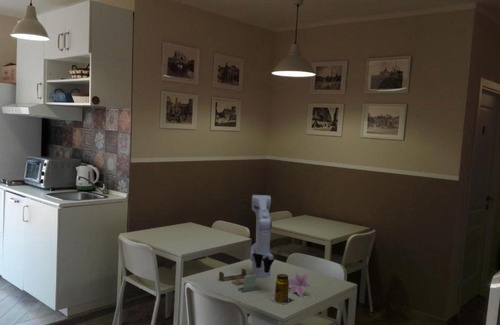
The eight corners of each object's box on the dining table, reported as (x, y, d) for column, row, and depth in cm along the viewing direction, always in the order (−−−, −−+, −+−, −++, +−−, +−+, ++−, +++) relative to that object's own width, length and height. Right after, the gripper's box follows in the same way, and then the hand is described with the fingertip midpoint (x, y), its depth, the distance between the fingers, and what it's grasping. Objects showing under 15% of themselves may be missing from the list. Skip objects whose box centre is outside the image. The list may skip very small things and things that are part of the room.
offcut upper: (241, 280, 229) (241, 278, 229) (246, 283, 226) (246, 281, 226) (231, 282, 226) (231, 280, 226) (237, 285, 222) (237, 283, 222)
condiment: (271, 300, 209) (272, 275, 208) (281, 295, 216) (283, 271, 215) (283, 304, 205) (285, 279, 204) (294, 300, 211) (295, 275, 210)
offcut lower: (242, 282, 230) (242, 280, 230) (247, 285, 225) (247, 283, 225) (230, 284, 226) (230, 282, 226) (235, 287, 222) (235, 285, 222)
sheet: (253, 290, 219) (254, 274, 219) (255, 291, 218) (255, 275, 218) (243, 292, 216) (243, 276, 216) (244, 293, 215) (245, 276, 214)
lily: (283, 291, 225) (281, 277, 220) (302, 279, 230) (300, 266, 224) (298, 306, 216) (296, 292, 211) (317, 294, 221) (316, 280, 215)
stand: (255, 288, 224) (255, 283, 224) (264, 293, 217) (264, 288, 217) (234, 291, 218) (234, 286, 217) (242, 297, 211) (242, 292, 211)
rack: (241, 277, 238) (241, 267, 238) (254, 286, 226) (255, 275, 226) (217, 281, 231) (217, 270, 231) (229, 290, 219) (230, 279, 219)
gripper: (249, 239, 223) (248, 266, 224) (264, 247, 211) (263, 275, 212) (261, 238, 227) (260, 264, 228) (277, 245, 214) (276, 273, 215)
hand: (262, 270), depth 220 cm, fingers open, 7 cm apart
